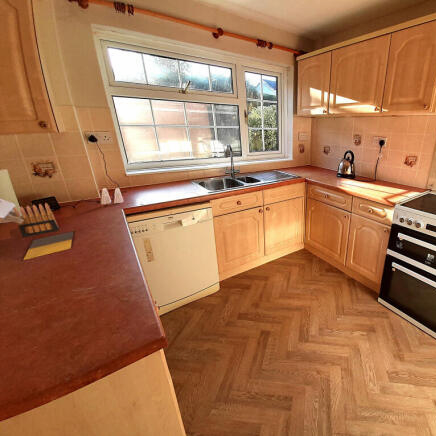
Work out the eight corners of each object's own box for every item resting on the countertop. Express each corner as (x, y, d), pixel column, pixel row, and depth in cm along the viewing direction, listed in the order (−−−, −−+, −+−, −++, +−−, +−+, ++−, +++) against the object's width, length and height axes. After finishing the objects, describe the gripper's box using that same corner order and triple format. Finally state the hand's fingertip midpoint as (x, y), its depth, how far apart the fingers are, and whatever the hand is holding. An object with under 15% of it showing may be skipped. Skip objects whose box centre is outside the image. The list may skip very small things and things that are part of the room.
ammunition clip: (59, 229, 102) (49, 202, 98) (59, 230, 101) (48, 203, 97) (23, 236, 96) (10, 207, 92) (22, 237, 95) (9, 208, 91)
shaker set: (102, 206, 155) (96, 190, 151) (102, 205, 158) (96, 188, 154) (124, 202, 162) (119, 186, 157) (123, 201, 165) (118, 185, 160)
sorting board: (24, 262, 93) (22, 259, 93) (34, 242, 110) (33, 239, 109) (71, 250, 101) (70, 248, 101) (74, 233, 118) (73, 231, 117)
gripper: (-24, 202, 92) (23, 219, 102) (-46, 217, 77) (12, 236, 87) (-13, 189, 93) (33, 207, 102) (-32, 201, 78) (24, 221, 87)
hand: (24, 220), depth 94 cm, fingers closed on ammunition clip, 2 cm apart
